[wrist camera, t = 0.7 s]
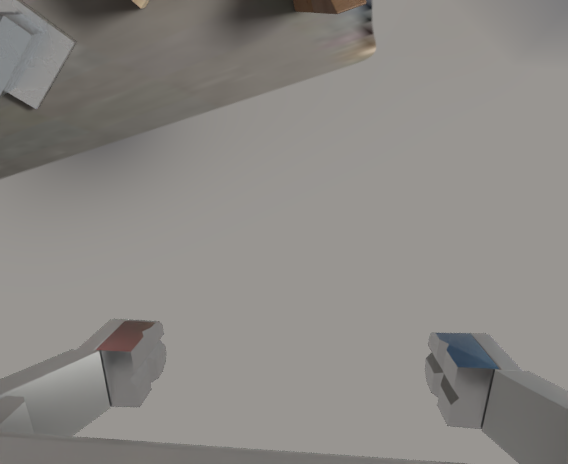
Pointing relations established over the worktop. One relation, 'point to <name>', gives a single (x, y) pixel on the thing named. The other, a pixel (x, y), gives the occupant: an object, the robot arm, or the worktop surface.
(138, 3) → the beech block
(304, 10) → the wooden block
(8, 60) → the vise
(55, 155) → the worktop surface
